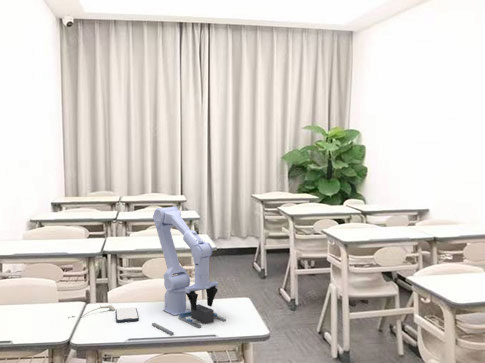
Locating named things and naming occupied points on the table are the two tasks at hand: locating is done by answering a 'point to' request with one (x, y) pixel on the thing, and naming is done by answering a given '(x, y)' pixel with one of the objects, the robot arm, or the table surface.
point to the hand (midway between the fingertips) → (201, 307)
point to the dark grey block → (203, 314)
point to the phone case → (127, 315)
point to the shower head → (104, 307)
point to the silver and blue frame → (189, 321)
